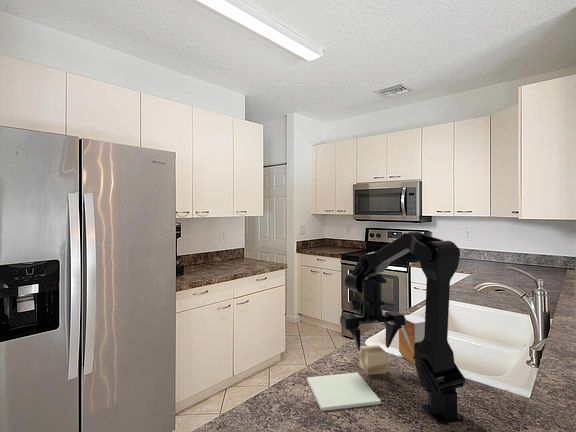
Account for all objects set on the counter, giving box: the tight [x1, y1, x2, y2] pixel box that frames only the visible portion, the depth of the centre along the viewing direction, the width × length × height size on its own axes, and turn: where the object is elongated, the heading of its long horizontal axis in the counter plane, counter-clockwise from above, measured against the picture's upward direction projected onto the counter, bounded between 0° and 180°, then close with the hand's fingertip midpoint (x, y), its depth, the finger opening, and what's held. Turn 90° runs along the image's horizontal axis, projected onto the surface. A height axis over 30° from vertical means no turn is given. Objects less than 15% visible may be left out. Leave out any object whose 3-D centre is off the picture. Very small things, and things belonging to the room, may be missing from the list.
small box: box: [398, 314, 425, 366], centre depth 105 cm, size 8×6×13 cm
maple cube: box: [359, 344, 388, 376], centre depth 98 cm, size 6×6×6 cm
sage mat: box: [306, 372, 382, 412], centre depth 86 cm, size 15×15×1 cm
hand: (373, 348), depth 98 cm, fingers open, 9 cm apart
